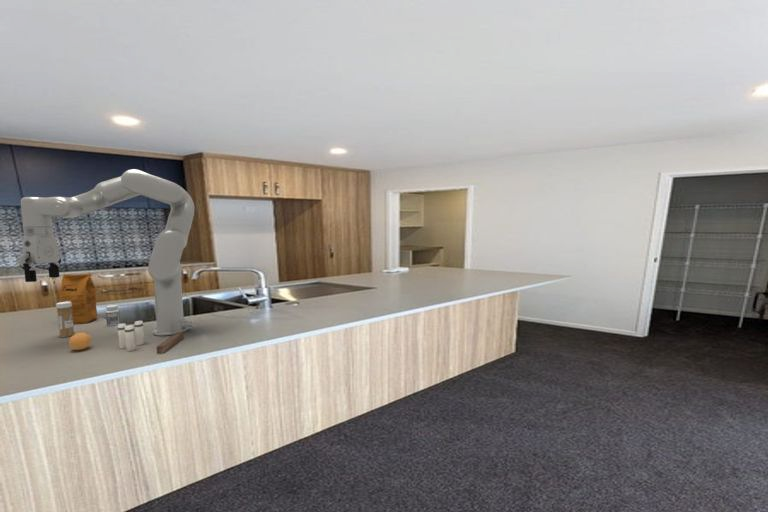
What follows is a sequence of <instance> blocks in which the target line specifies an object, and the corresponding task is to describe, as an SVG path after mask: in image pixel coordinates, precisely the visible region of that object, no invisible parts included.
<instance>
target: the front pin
mask: <svg viewBox="0 0 768 512" xmlns="http://www.w3.org/2000/svg"><path fill="white" fill-rule="evenodd" d="M125 326H127V323H120V324H118V325H117V333H118V345H119V349H120V350H121V349H122V350H123V349H126V336H125Z"/></svg>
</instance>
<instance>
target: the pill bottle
mask: <svg viewBox="0 0 768 512" xmlns="http://www.w3.org/2000/svg"><path fill="white" fill-rule="evenodd" d="M118 308H119V306H118V304H111V305H107V306H106V308H105V309H106V311H105V317H106V325H108V326H107V327H114V326H113V325H115V326H118V325H117V324H121V317H120V315H121V314H120V309H118Z"/></svg>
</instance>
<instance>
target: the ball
mask: <svg viewBox="0 0 768 512" xmlns="http://www.w3.org/2000/svg"><path fill="white" fill-rule="evenodd" d="M91 343H92V337H91V336H90V334H88V333H87V332H78V333H74V335H72V336H70V338H69V340H68V345H69V347H70V348H71V349H72V350H75V351H82V350H85V349H87V348H88V347H89V346H90V345H91Z"/></svg>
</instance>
